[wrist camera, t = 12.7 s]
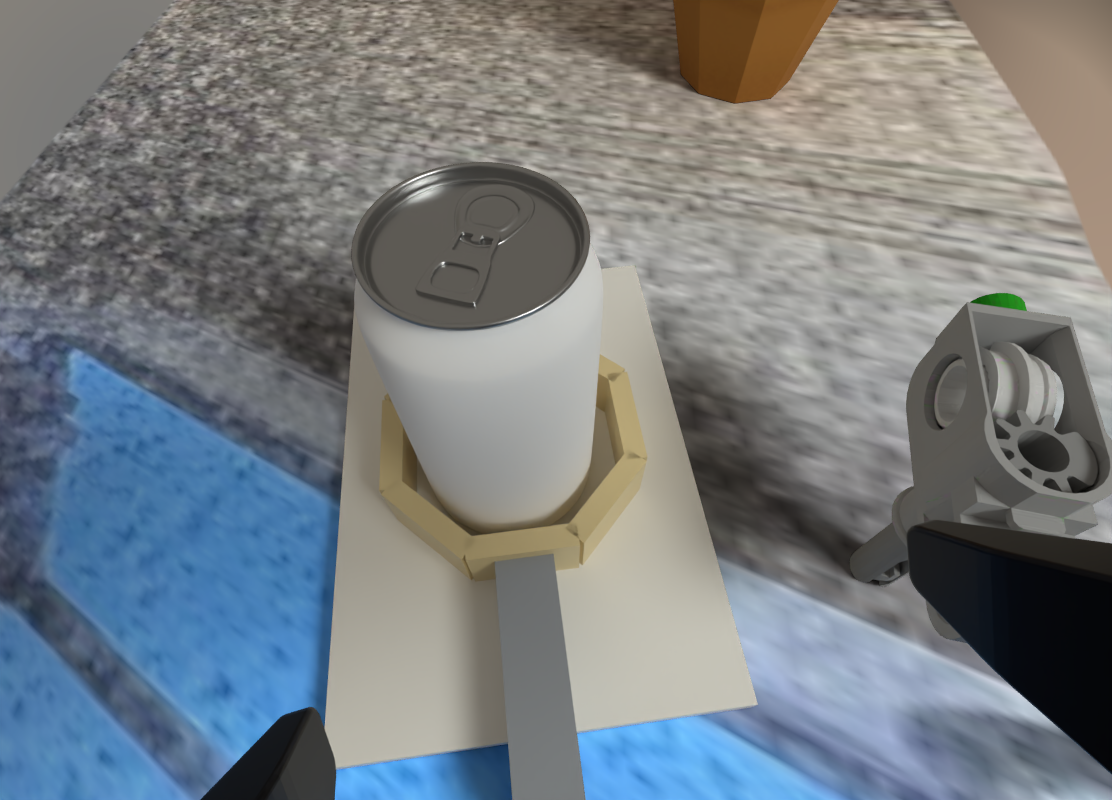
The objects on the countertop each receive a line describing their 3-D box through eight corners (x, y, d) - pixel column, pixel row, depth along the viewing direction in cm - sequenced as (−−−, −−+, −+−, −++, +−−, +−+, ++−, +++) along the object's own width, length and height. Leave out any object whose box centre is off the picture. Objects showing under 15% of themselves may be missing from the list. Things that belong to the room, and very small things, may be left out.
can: (608, 418, 25) (636, 175, 15) (563, 562, 22) (562, 375, 12) (466, 381, 26) (404, 133, 16) (404, 513, 23) (277, 305, 13)
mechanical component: (833, 704, 20) (1026, 653, 12) (828, 444, 25) (958, 279, 17) (925, 726, 20) (1194, 690, 11) (900, 457, 25) (1070, 296, 17)
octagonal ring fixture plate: (776, 806, 19) (816, 812, 16) (325, 879, 18) (277, 900, 15) (624, 247, 32) (630, 194, 29) (363, 274, 31) (341, 222, 28)
